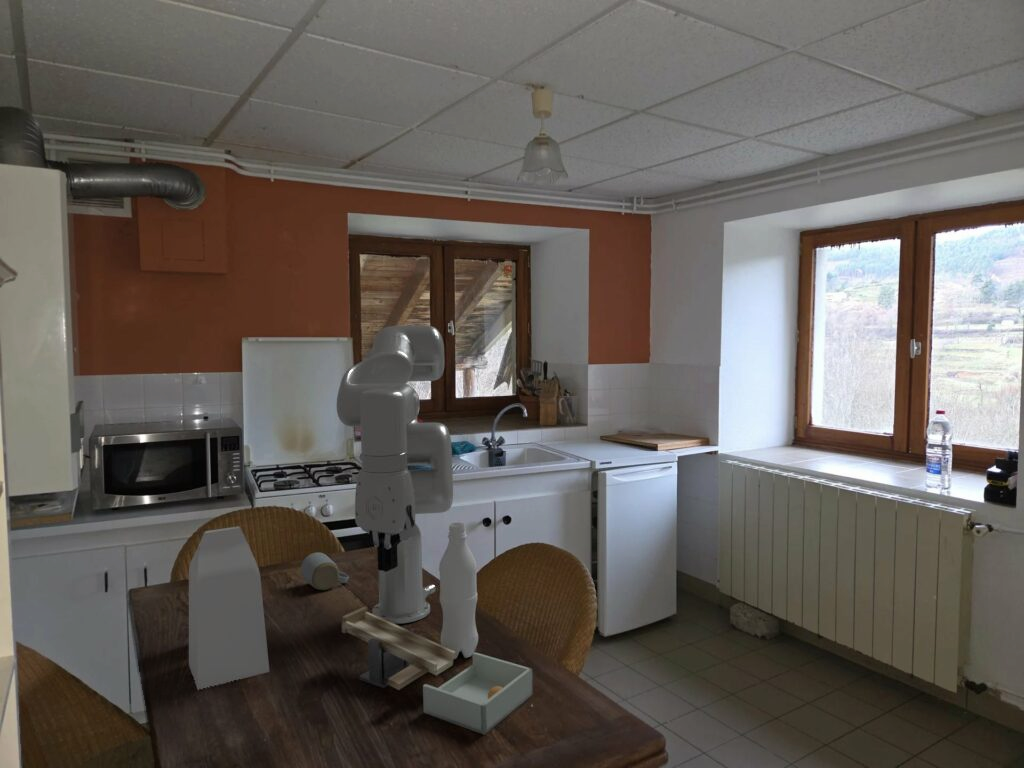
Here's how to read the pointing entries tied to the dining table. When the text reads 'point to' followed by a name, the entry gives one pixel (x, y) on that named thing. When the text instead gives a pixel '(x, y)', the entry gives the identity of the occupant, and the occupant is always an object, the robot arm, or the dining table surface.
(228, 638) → the milk
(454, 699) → the tray
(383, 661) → the fulcrum
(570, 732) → the dining table surface
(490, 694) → the ball
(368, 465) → the robot arm
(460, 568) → the water bottle
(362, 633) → the lever
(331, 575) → the ceramic mug
